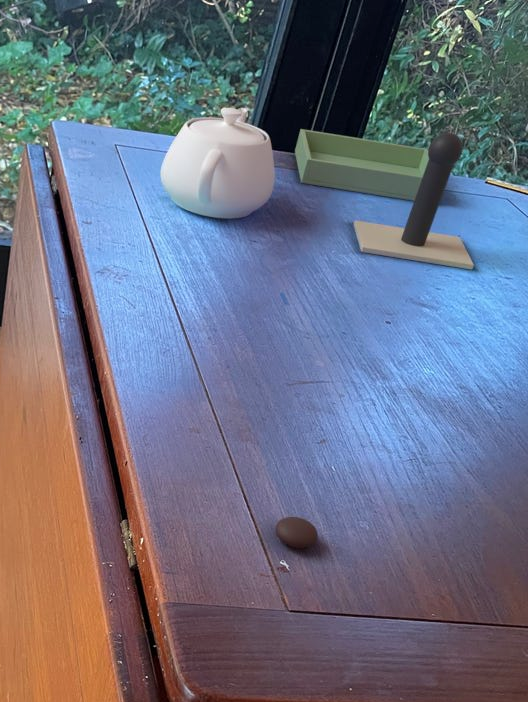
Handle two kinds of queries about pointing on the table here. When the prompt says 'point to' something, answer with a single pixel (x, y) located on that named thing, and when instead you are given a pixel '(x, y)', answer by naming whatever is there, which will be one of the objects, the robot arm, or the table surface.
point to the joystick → (422, 216)
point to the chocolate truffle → (296, 532)
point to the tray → (360, 164)
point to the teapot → (219, 166)
